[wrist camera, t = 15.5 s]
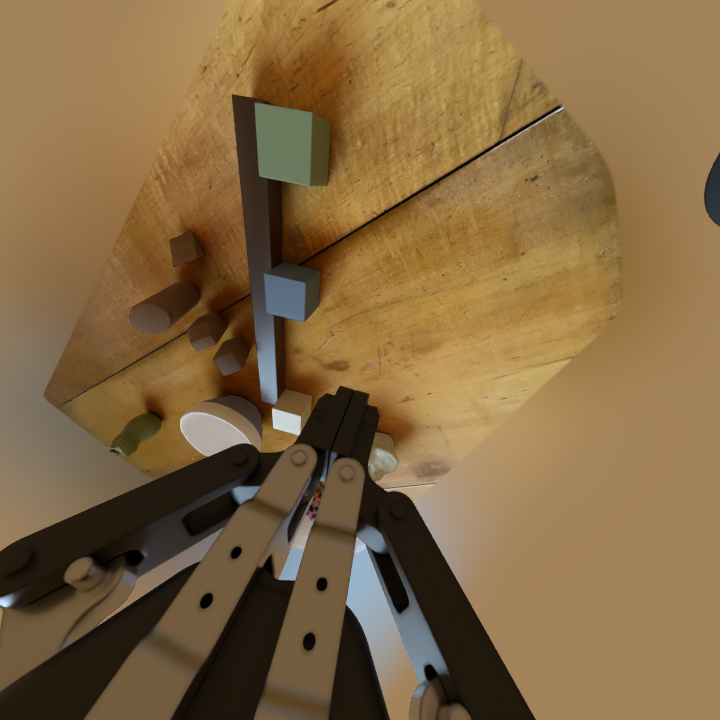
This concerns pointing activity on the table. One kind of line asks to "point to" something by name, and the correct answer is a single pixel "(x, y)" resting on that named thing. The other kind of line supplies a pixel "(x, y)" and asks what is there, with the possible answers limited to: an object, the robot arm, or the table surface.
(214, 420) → the bowl
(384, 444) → the bone
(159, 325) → the wooden block set
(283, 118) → the green block
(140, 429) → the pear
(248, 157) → the straightedge
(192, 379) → the table surface
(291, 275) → the blue block
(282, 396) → the cream block
